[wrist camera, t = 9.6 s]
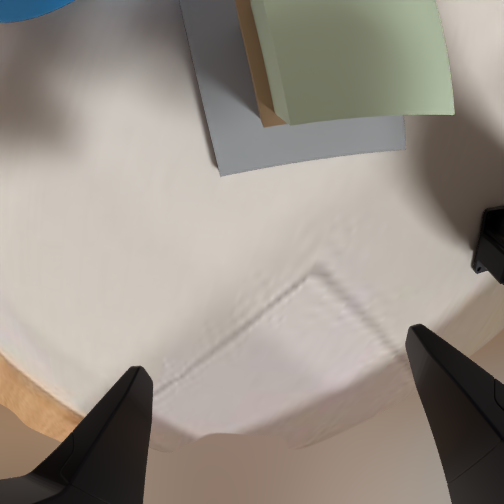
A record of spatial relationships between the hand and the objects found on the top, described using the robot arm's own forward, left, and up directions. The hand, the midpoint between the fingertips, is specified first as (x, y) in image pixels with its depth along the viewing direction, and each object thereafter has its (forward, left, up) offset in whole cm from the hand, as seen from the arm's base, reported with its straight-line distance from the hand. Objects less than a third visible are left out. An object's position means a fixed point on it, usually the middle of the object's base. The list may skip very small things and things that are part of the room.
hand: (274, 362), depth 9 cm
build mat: (-4, -9, -12) cm, 16 cm away
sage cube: (-4, -9, -6) cm, 12 cm away
